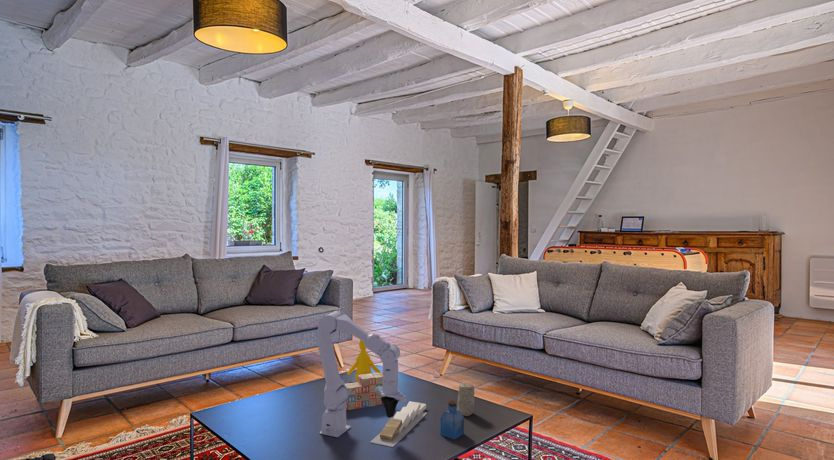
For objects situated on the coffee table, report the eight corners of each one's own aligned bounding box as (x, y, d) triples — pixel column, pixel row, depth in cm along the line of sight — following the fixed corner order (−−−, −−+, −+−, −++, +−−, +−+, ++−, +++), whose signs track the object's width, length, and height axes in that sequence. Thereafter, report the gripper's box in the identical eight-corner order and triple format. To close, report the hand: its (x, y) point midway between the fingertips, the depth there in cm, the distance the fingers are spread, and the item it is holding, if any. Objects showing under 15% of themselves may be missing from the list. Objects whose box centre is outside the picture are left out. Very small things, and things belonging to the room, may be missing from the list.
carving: (466, 418, 190) (467, 388, 190) (453, 412, 196) (453, 383, 196) (477, 414, 194) (478, 385, 194) (464, 408, 200) (464, 380, 200)
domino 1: (399, 429, 175) (408, 413, 183) (387, 427, 177) (397, 411, 185) (399, 433, 176) (409, 417, 184) (388, 431, 178) (397, 415, 186)
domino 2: (405, 423, 180) (414, 408, 188) (393, 421, 182) (403, 406, 190) (405, 427, 181) (414, 412, 189) (394, 425, 183) (403, 410, 191)
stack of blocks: (340, 411, 197) (340, 382, 197) (337, 406, 203) (337, 377, 203) (389, 403, 206) (389, 375, 205) (384, 398, 211) (384, 371, 211)
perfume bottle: (450, 429, 181) (450, 397, 181) (463, 433, 177) (464, 401, 177) (440, 434, 176) (440, 402, 176) (454, 439, 172) (454, 406, 172)
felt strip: (392, 447, 166) (392, 446, 166) (370, 442, 169) (370, 441, 169) (427, 413, 195) (427, 412, 195) (407, 409, 199) (407, 409, 199)
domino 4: (417, 411, 191) (426, 404, 200) (406, 410, 193) (415, 402, 202) (417, 416, 192) (426, 408, 200) (406, 414, 193) (415, 406, 202)
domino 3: (411, 417, 186) (420, 402, 194) (400, 415, 188) (409, 401, 196) (412, 421, 187) (420, 406, 194) (401, 419, 188) (409, 404, 196)
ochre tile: (391, 436, 170) (401, 419, 178) (379, 434, 172) (390, 417, 179) (392, 440, 170) (402, 423, 178) (380, 438, 172) (390, 421, 180)
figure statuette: (383, 379, 236) (383, 335, 236) (380, 385, 229) (380, 339, 228) (347, 378, 238) (347, 334, 237) (344, 384, 230) (344, 338, 230)
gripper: (369, 377, 176) (369, 413, 176) (395, 387, 166) (395, 426, 166) (383, 373, 181) (383, 408, 181) (410, 382, 171) (410, 420, 171)
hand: (390, 416), depth 174 cm, fingers closed
